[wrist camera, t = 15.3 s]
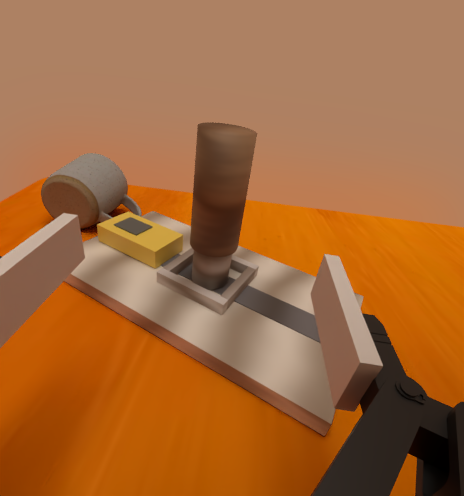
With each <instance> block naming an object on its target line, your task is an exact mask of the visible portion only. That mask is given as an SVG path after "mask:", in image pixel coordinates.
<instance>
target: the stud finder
mask: <svg viewBox="0 0 464 496" xmlns="http://www.w3.org/2000/svg"><path fill="white" fill-rule="evenodd" d="M97 231H98V240H99V241H100V242H102V243H104V244H106V245H108V246H110V247H112V248H115V249H117V250H119V251H121V252H123V253H125V254H127V255H129V256H131V257H133V258H135V259H137V260H139V261H141V262H143V263H145V264H147V265H149V266H151V267H153V268H155V269H156V268H157V267H159V266H160V265H161V264H163V263H164V262H166V261H167V260H169V259H170V258H172V257H173V256H175V255H176V254H178V253H179V252H181V251H182V250H183V234H180V233H178V232H175V231H173V230H171V229H168V228H166V227H164V226H161V225H159V224H157V223H154V222H152V221H149V220H147V219H145V218H142V217H140V216H138V215H135V214H133V213H130V212H126V213H123V214H121V215H119V216H116V217H114V218H111V219H109V220H106V221H104V222H101V223H99V224H97Z"/></svg>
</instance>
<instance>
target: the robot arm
mask: <svg viewBox="0 0 464 496" xmlns="http://www.w3.org/2000/svg"><path fill="white" fill-rule="evenodd" d="M84 259H85V254H84V248H83V242H82V236H81V230H80V224H79V219H78V215H73V214H67V213H63V214H62V215H60V216H59V217H57V218H56V219H55V220H53V221H52V222H50V223H49V224H48V225H46V226H45V227H43V228H42V229H41V230H39V231H38V232H37V233H35V234H34V235H32V236H31V237H30V238H28V239H27V240H25V241H24V242H23V243H21V244H20V245H18V246H17V247H16V248H14V249H13V250H11V251H10V252H9V253H7V254H6V255H5V256H3V257H1V256H0V348H1V347H2V346H3V345H4V344H5V342H6V341H7V340H8V339H9V338H10V337H11V336H12V335H13V334H14V333H15V332H16V331H17V330H18V329H19V328H20V327H21V326H22V324H23V323H24V322H25V321H26V320H27V319H28V318H29V317H30V316H31V315H32V314H33V313H34V312H35V311H36V310H37V309H38V308H39V306H40V305H41V304H42V303H43V302H44V301H45V300H46V299H47V298H48V297H49V296H50V295H51V294H52V293H53V292H54V291H55V290H56V289H57V287H58V286H59V285H60V284H61V283H62V282H63V281H64V280H65V279H66V278H67V277H68V276H69V275H70V274H71V273H72V272H73V271H74V269H75V268H76V267H77V266H78V265H79V264H80V263H81V262H82V261H83V260H84ZM311 299H312V304H313V309H314V314H315V319H316V323H317V328H318V333H319V338H320V343H321V348H322V352H323V357H324V362H325V367H326V372H327V376H328V381H329V386H330V391H331V396H332V401H333V405H334V408H335V409H341V410H347V411H353V412H354V411H355V410H356V408H357V406H358V405H359V403H360V405H361V408H362V412H363V415H362V416H361V418H360V419H359V421H358V422H357V424H356V425H355V427H354V428H353V430H352V432H351V433H350V435H349V436H348V438H347V440H346V441H345V443H344V444H343V446H342V447H341V449H340V451H339V452H338V454H337V455H336V457H335V458H334V460H333V462H332V463H331V465H330V466H329V468H328V469H327V471H326V472H325V474H324V476H323V477H322V479H321V480H320V482H319V483H318V485H317V487H316V488H315V490H314V491H313V493H312V494H311V496H389V495H390V493H391V491H392V488H393V486H394V484H395V481H396V479H397V477H398V474H399V472H400V470H401V468H402V465H403V463H404V461H405V458H406V456H407V454H408V453H409V454H411V455H413V456H415V457H417V472H416V493H415V496H464V402H460V403H459V404H457V405H456V406H455V407H454V408H452V407H450V406H448V405H445V404H443V403H441V402H438V401H436V400H434V399H432V398H430V397H428V396H427V394H426V392H425V391H424V390H423V388H422V387H421V386H420V385H419V384H418V383H417V382H416V381H414V380H413V379H411V378H409V377H408V376H406V373H405V371H404V369H403V367H402V365H401V363H400V361H399V358H398V356H397V354H396V352H395V350H394V348H393V345H391V341H390V339H389V337H387V333H386V330H385V328H384V326H383V324H382V323H381V322H380V321H379V320H378V319H377V318H376V317H375V316H374V315H368V314H362V312H361V310H360V307H359V305H358V302H357V300H356V297H355V295H354V292H353V290H352V287H351V285H350V282H349V280H348V277H347V275H346V272H345V270H344V267H343V265H342V262H341V260H340V257H339V256H334V255H327V254H324V257H323V260H322V263H321V265H320V268H319V271H318V274H317V277H316V280H315V282H314V285H313V288H312V291H311Z"/></svg>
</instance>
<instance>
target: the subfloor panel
mask: <svg viewBox="0 0 464 496" xmlns="http://www.w3.org/2000/svg"><path fill="white" fill-rule="evenodd" d="M141 217H142V218H145V219H147V220H149V221H152V222H154V223H157V224H159V225H161V226H164V227H166V228H168V229H171V230H173V231H175V232H178V233H180V234H183V250H182V251H181V252H179V253H178V254H176V255H175V256H173V257H172V258H170V259H169V260H167V261H166V262H164V263H163V264H161V265H160V266H159V267H157V268H156V269H155V268H153V267H151V266H149V265H147V264H145V263H143V262H141V261H139V260H137V259H135V258H133V257H131V256H129V255H127V254H125V253H123V252H121V251H119V250H117V249H115V248H112V247H110V246H108V245H106V244H104V243H102V242H100V241H99V240H98V236H96V237H94V238H92V239H90V240H87V241H85V242H83V248H84V254H85V259H84V260H83V261H82V262H81V263H80V264H79V265H78V266H77V267H76V268H75V269H74V271H73V272H72V273H71V274H70V275H69V276H68V277H67V278H66V279H65V280H64V281H65V282H67V283H68V284H70V285H72V286H73V287H75V288H77V289H78V290H80V291H82V292H83V293H85V294H87V295H88V296H90V297H92V298H93V299H95V300H97V301H98V302H100V303H102V304H103V305H105V306H107V307H109V308H110V309H112V310H114V311H115V312H117V313H119V314H120V315H122V316H124V317H125V318H127V319H129V320H130V321H132V322H134V323H135V324H137V325H139V326H140V327H142V328H144V329H145V330H147V331H149V332H150V333H152V334H154V335H155V336H157V337H159V338H160V339H162V340H164V341H165V342H167V343H169V344H170V345H172V346H174V347H176V348H177V349H179V350H181V351H182V352H184V353H186V354H187V355H189V356H191V357H192V358H194V359H196V360H197V361H199V362H201V363H202V364H204V365H206V366H207V367H209V368H211V369H212V370H214V371H216V372H217V373H219V374H221V375H222V376H224V377H226V378H227V379H229V380H231V381H232V382H234V383H236V384H238V385H239V386H241V387H243V388H244V389H246V390H248V391H249V392H251V393H253V394H254V395H256V396H258V397H259V398H261V399H263V400H264V401H266V402H268V403H269V404H271V405H273V406H274V407H276V408H278V409H279V410H281V411H283V412H284V413H286V414H288V415H289V416H291V417H293V418H294V419H296V420H298V421H299V422H301V423H303V424H305V425H306V426H308V427H310V428H311V429H313V430H315V431H316V432H318V433H320V434H321V435H323V436H325V435H326V433H327V431H328V430H329V428H330V426H331V425H332V421H333V417H334V413H335V408H334V405H333V401H332V396H331V391H330V386H329V381H328V376H327V372H326V367H325V362H324V357H323V352H322V348H321V343H320V338H319V333H318V328H317V323H316V319H315V314H314V309H313V304H312V299H311V291H312V288H313V285H314V282H315V280H316V277H314V276H312V275H309V274H307V273H304V272H302V271H300V270H297V269H295V268H292V267H290V266H287V265H285V264H282V263H280V262H277V261H275V260H272V259H270V258H267V257H265V256H263V255H260V254H258V253H255V252H253V251H250V250H248V249H245V248H243V247H240V246H238V248H237V250H236V252H235V253H233V254H232V258H231V264H230V270H229V276H228V282H227V284H226V285H225V286H224V287H222V288H220V289H216V290H207V289H205V288H203V287H201V286H199V285H197V284H195V283H194V282H193V281H192V266H193V253H194V249H193V248H192V247H191V245H190V233H191V226H188V225H186V224H184V223H181V222H179V221H176V220H174V219H171V218H169V217H166V216H164V215H161V214H159V213H156V212H154V211H152V212H150V213H148V214H146V215H143V216H141ZM354 295H355V297H356V300H357V302H358V305H359V307H360V308H361V304H362V300H363V296H361V295H359V294H356V293H354Z"/></svg>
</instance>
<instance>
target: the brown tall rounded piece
mask: <svg viewBox="0 0 464 496" xmlns="http://www.w3.org/2000/svg"><path fill="white" fill-rule="evenodd" d="M256 137H257V133H256V132H255V131H253V130H250V129H248V128H245V127H241V126H236V125H229V124H223V123H201V124H198V132H197V146H196V160H195V175H194V189H193V190H194V191H193V204H192V219H191V233H190V245H191V247H192V248H193V249H194V253H193V266H192V281H193V282H194V283H195V284H197V285H199V286H201V287H203V288H205V289H207V290H216V289H220V288H222V287H224V286H225V285H226V284H227V282H228V276H229V270H230V264H231V258H232V254H233V253H235V252H236V250H237V248H238V242H239V236H240V230H241V225H242V219H243V213H244V207H245V201H246V195H247V189H248V184H249V178H250V172H251V166H252V160H253V154H254V148H255V143H256Z"/></svg>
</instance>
